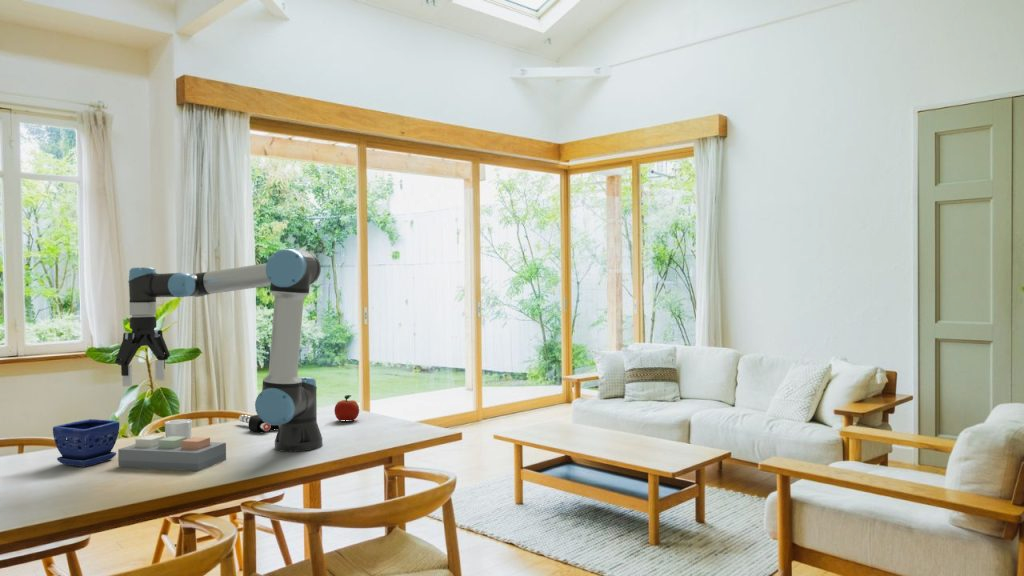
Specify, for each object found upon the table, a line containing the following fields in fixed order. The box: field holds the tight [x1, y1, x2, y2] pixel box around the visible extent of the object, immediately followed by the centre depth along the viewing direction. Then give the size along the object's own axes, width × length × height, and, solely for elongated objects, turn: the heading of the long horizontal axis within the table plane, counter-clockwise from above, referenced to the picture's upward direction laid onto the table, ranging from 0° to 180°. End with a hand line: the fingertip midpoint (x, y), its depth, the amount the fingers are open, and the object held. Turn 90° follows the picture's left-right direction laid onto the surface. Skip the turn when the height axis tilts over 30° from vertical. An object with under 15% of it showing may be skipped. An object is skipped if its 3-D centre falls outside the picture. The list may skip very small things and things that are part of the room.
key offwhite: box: [135, 434, 165, 448], centre depth 210 cm, size 6×6×4 cm
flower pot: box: [52, 418, 120, 468], centre depth 211 cm, size 13×13×12 cm
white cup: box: [164, 418, 193, 439], centre depth 222 cm, size 8×8×10 cm
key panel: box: [117, 441, 227, 472], centre depth 208 cm, size 27×13×5 cm, turn 78°
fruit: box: [334, 394, 360, 421], centre depth 271 cm, size 10×10×10 cm
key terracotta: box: [182, 436, 211, 450], centre depth 207 cm, size 6×6×4 cm
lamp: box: [238, 414, 280, 433], centre depth 260 cm, size 11×5×25 cm
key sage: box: [159, 436, 187, 449], centre depth 208 cm, size 6×6×4 cm
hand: (144, 383), depth 218 cm, fingers open, 13 cm apart
